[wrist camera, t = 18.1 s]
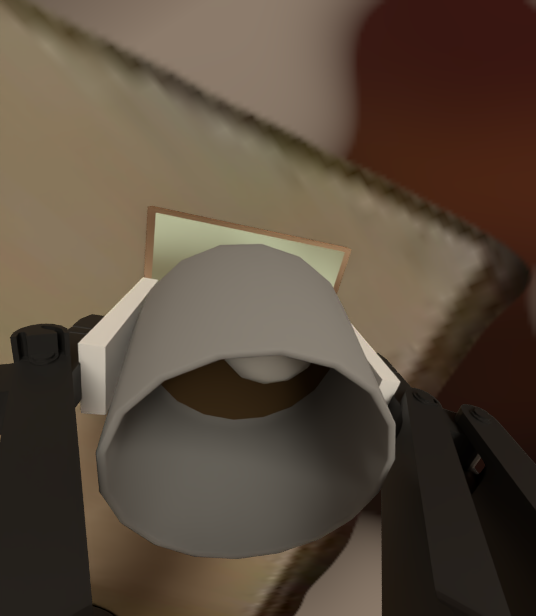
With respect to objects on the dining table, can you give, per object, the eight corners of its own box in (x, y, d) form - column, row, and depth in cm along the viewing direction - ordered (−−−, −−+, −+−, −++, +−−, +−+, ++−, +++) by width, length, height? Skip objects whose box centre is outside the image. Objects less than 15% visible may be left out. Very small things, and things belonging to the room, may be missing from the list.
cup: (294, 201, 14) (406, 231, 5) (339, 347, 18) (447, 513, 9) (124, 270, 14) (-62, 413, 5) (203, 398, 18) (173, 607, 9)
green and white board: (281, 447, 25) (283, 458, 24) (138, 438, 22) (133, 450, 21) (346, 247, 18) (353, 251, 17) (151, 206, 16) (146, 207, 15)
